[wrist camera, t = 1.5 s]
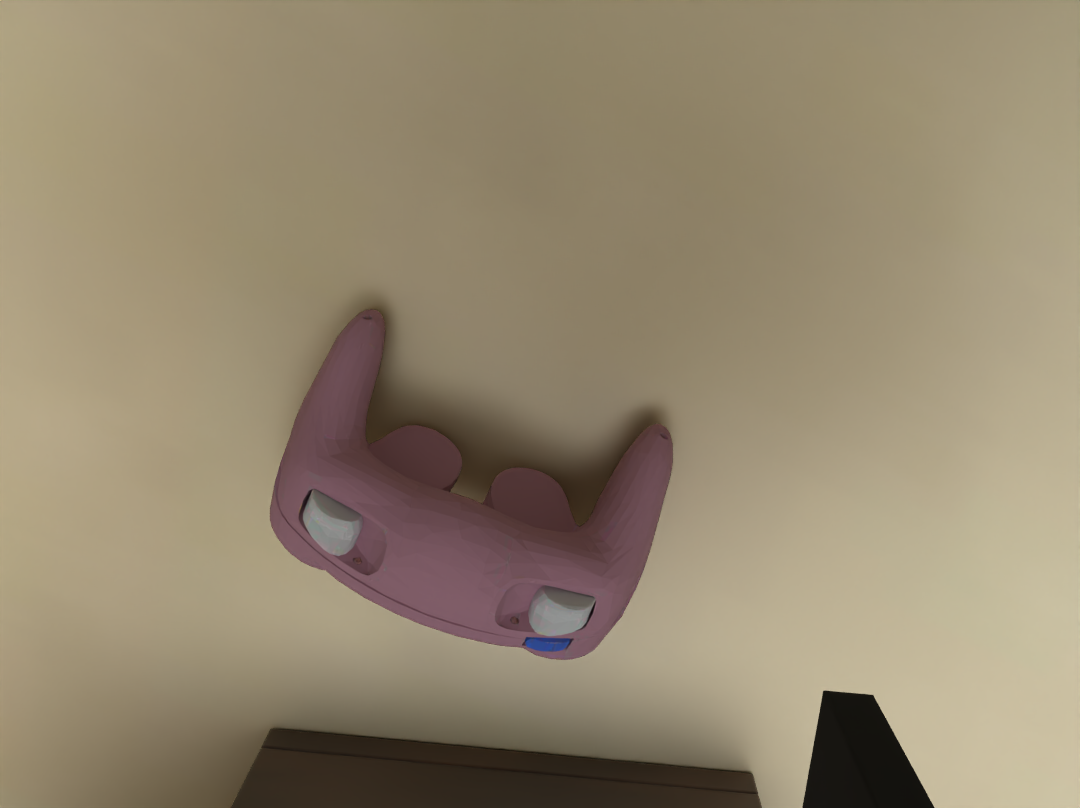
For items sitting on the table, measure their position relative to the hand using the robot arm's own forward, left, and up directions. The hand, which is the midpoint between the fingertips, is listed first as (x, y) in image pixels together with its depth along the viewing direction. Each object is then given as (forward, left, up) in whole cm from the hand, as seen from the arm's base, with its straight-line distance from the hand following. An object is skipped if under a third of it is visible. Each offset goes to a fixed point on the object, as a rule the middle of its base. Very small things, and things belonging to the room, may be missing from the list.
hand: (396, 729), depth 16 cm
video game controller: (0, 0, -14) cm, 14 cm away
